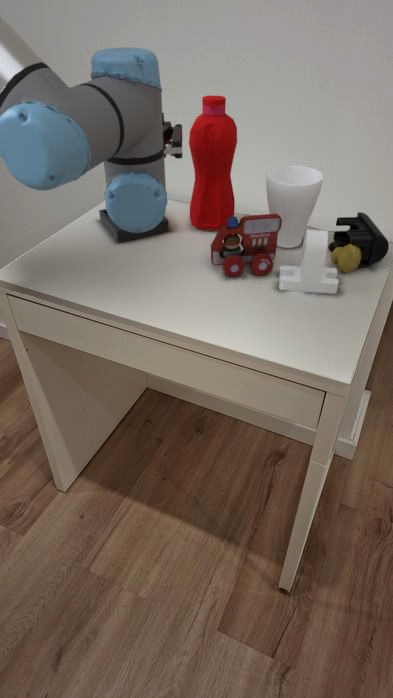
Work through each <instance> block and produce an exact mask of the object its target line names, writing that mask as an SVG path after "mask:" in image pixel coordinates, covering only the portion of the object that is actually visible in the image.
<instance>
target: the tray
mask: <svg viewBox="0 0 393 698" xmlns="http://www.w3.org/2000/svg"><path fill="white" fill-rule="evenodd" d="M98 213H99V219H100V222H101V223H102V224H103V226H104V227H105V228H106V230H107V231H108V232H109V234H111V236H112V237H113V238H114V240H115V241H116V242H117V243H123V242H126V241H131V240H136V239H139V238H140V239H141V238H144V237H148V236H152V235H157V234H161V233H166V232H170V227H169V226H170V225H169V224H170V223H169V219H168V217H166V216H165V215H164V217H163V219H162V220H161V222H160V223H159V224H158V225H157V226H156V227H154V228H153V229H151V230H149V231H146V232H141V233H134V232H128V231H125V230H123V229H121V228H119V227H118V226H117V225H116V224H115V223H114V222H113V221H112V220H111V219H110V217H109V215H108V213H107V210H106V208H104V209H99V210H98Z"/></svg>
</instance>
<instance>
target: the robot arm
mask: <svg viewBox="0 0 393 698" xmlns="http://www.w3.org/2000/svg"><path fill="white" fill-rule="evenodd" d="M90 65H91V66H90V68H91V73H90V74H89V76H90V78H91V80H89V81H85V82H83V83H80V84H76V85H74V86H71V87H70V86H68V85H67V84H66V83H65V81H64V80H62V78H61V77H60V76H59V75H58V74H57V73H56V72H55V71H54V70H53V69H52V68H51V67H50V66H49V65H48V64H47V63H46V62H45V61H44V59H42V57H40V55H38V53H36V51H34V50H33V48H32V47H31V46H30V45H29V44H28V43H27V42H26V41H25V40H24V39H23V37H22V36H20V34H19V33H18V32H17V31H16V30H15V29H14V28H13V27H12V26H11V25H10V24H9V23H8V22H7V20H5V18H3V17H2V15H0V158H2V159H3V161H4V163H5V165H6V166H5V167H6V170H7V171H8V172H9V174H10V175H11V176H12V177H13V178H14V179H16V180H17V182H19V183H20V184H22V185H23V186H26V188H27V187H28V188H30V189H32V190H36V191H50V190H54V189H57V188H58V187H61V186H64V185H66V184H68V183H72V182H74V181H77V180H79V179H80V178H81V177H82V176H84V175H85V174H86V173H88V172H89V171H91V170H93V169H95V168H96V167H97V166H100V165H101V164H102V163H103V169H104V176H105V183H106V188H105V191H104V201H105V209H106V210H107V213H108V215H109V217H110V219H111V220H112V221H113V222H114V223H115V224H116V225H117V226H118V227H119V228H121V229H123V230H125V231H128V232H134V233H141V232H146V231H149V230H151V229H153V228H154V227H156V226H157V225H158V224H159V223H160V222H161V220H162V219H163V217H164V216H165V214H166V210H167V206H168V192H167V188H166V187H167V186H166V166H165V159H166V158H167V155H169V156H170V157H174V158H175V159H178V160H179V159H183V125H182V123H177V124H175V125H174V126H172V122H171V120H170V121H169V120H168V121H165V114H164V112H163V100H162V99H163V97H162V92H163V87H162V86H161V85H162V84H161V75H160V66H159V65H160V64H159V60H158V56H156V54H155V52H153V51H151V50H150V49H147V48H143V47H124V46H123V47H109V48H104V49H99V50H96V51H95V52H94V53H93V54H92V56H91V58H90Z"/></svg>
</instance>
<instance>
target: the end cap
mask: <svg viewBox="0 0 393 698" xmlns="http://www.w3.org/2000/svg"><path fill="white" fill-rule="evenodd" d="M335 226H336V227H344V226H345V227H349V229H347V230H334V233H333V238H332V239H333V243H332V248H333V250H334V249H335V248H337V247H342V248H344V247H345V246H346V245H349V244H351V245H355V246H356V247H359V248H360V251H361V261H360V263H359V265H358V267H357V268H356V269H359V268H369V267H371V266H373V265H376V264H377V263H379V262H381V261H382V260H384V258H385V257H386V256H387V254H388V252H389V248H390V244H389V240H388V239H387V238H386V236H385V235H384V234H383V232H382V231H381V230H380V229H379V227H377V225H376V223H374V221H373V220H372V218H370V216H369V215H367V214H366V213H364V212H362V211H361V212H360V211H357V215H356V216H344V217H342V216H341V217H339V216H338V217H337V218H336V221H335Z"/></svg>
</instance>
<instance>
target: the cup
mask: <svg viewBox="0 0 393 698" xmlns="http://www.w3.org/2000/svg"><path fill="white" fill-rule="evenodd" d="M265 175H266V176H265V188H266V199H267V206H268V212H269V214H278V215H279V216H280V217H281V219H282V224H281V229H280V230H279V232H278V237H277V247H279V248H284V249H293V248H296V247H299V246H301V245H302V241H303V239H304V235H305V231H306V228H307V225H308V223H309V221H310V219H311V216H312V214H313V211H314V209H315V206H316V204H317V201H318V199H319V195H320V193H321V190H322V186H323V181H324V174H323V173H322V172H321V171H319V170H318V169H316V168H312V167H309V166H305V165H297V164H286V165H278V166H274V167H272V168H270V169H269V170H267V172H266V174H265Z"/></svg>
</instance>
